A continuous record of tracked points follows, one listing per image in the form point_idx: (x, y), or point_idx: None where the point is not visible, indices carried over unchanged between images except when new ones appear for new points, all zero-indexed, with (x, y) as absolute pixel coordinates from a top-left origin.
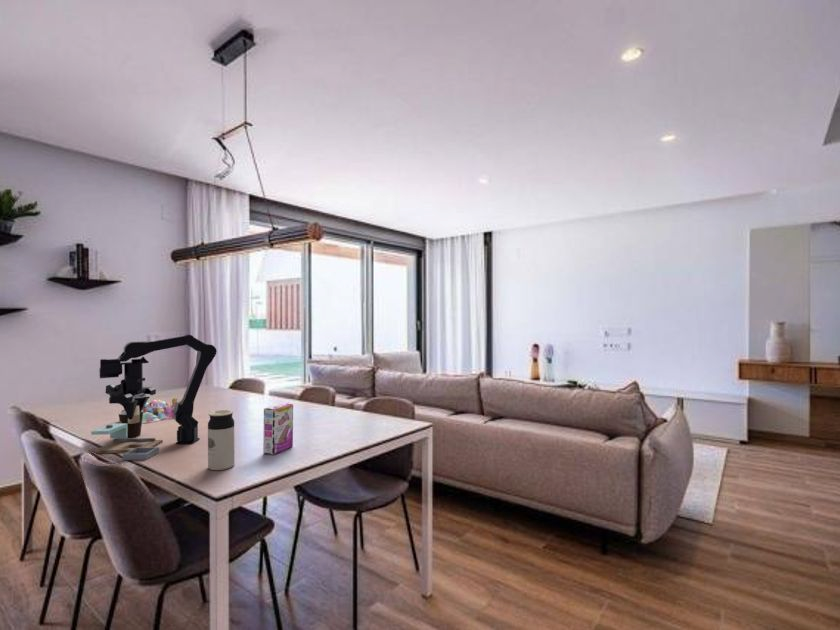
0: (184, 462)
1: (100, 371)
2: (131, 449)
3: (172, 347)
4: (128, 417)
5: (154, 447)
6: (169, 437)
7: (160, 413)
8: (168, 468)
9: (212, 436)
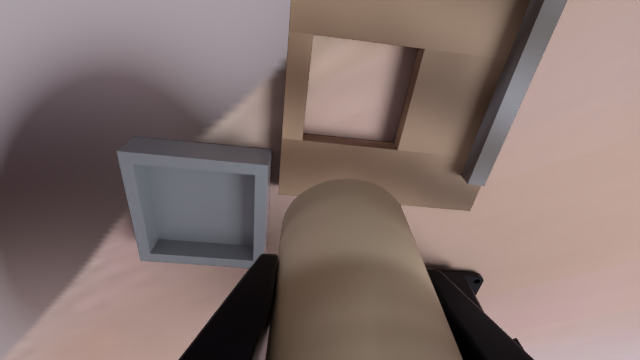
0: (137, 356)
1: None
2: (290, 120)
3: None
4: (246, 277)
5: (257, 254)
6: (574, 196)
7: None
8: (65, 337)
9: None
